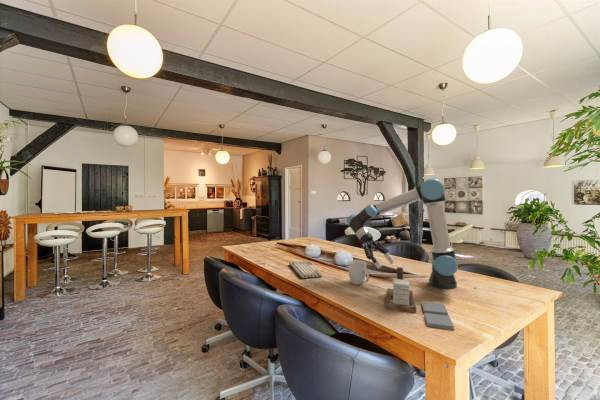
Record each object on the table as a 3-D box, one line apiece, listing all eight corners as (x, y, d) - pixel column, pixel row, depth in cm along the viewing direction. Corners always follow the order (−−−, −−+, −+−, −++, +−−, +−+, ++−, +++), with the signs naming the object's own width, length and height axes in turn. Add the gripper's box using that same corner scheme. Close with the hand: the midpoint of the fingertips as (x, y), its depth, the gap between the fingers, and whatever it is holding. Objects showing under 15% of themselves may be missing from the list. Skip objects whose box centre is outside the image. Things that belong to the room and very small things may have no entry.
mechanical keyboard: (326, 277, 183) (326, 272, 182) (299, 280, 177) (299, 275, 177) (309, 264, 219) (309, 259, 219) (286, 266, 213) (286, 261, 213)
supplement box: (393, 303, 139) (393, 278, 139) (408, 304, 137) (408, 280, 136) (393, 308, 132) (393, 283, 132) (409, 310, 130) (409, 284, 130)
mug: (374, 285, 165) (374, 264, 165) (362, 289, 159) (362, 267, 159) (357, 279, 177) (357, 259, 177) (344, 282, 171) (344, 261, 171)
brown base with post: (412, 293, 152) (412, 267, 151) (415, 312, 128) (416, 282, 127) (387, 290, 156) (387, 265, 156) (386, 309, 132) (386, 279, 131)
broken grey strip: (443, 306, 134) (443, 303, 134) (453, 330, 112) (454, 326, 112) (421, 304, 138) (421, 301, 137) (427, 326, 115) (427, 322, 115)
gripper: (372, 237, 178) (393, 264, 167) (348, 242, 161) (370, 272, 150) (379, 230, 174) (401, 257, 163) (355, 234, 157) (378, 265, 146)
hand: (386, 265), depth 157 cm, fingers open, 13 cm apart
